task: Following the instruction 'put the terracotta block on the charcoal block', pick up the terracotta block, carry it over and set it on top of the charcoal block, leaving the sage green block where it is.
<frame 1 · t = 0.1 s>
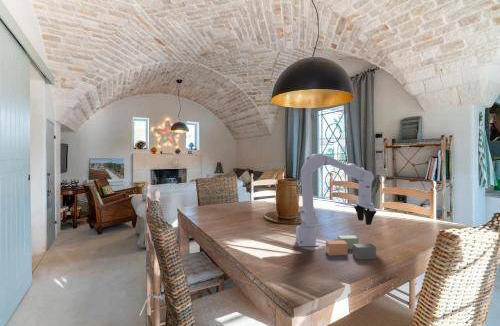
hand: (364, 222, 120), 10 cm above the table, fingers open, 7 cm apart
sage block: (348, 247, 115), on the table
charcoal block: (364, 257, 104), on the table
terracotta block: (336, 253, 108), on the table
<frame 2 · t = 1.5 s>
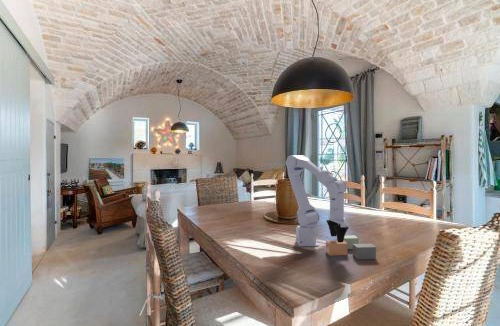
hand: (336, 239, 108), 6 cm above the table, fingers open, 7 cm apart
nothing on the table moved.
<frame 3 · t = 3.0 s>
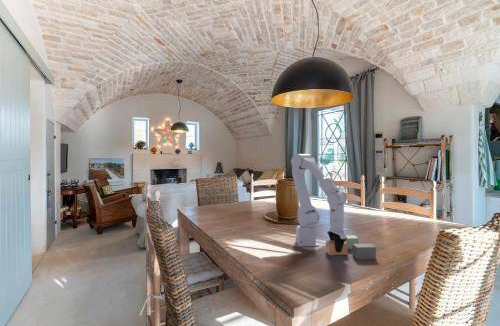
hand: (336, 249, 108), 1 cm above the table, fingers closed on terracotta block, 4 cm apart
terracotta block: (336, 253, 108), on the table, touching gripper
everything else where it was.
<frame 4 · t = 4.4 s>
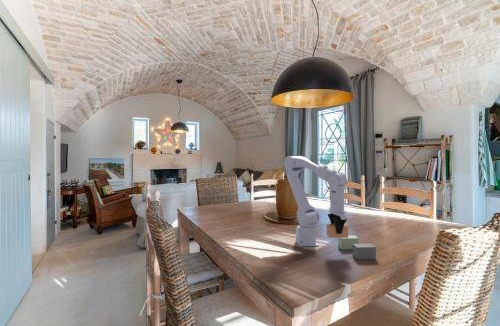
hand: (337, 231, 107), 9 cm above the table, fingers closed on terracotta block, 4 cm apart
terracotta block: (337, 236, 108), point 7 cm above the table, touching gripper
everything else where it was.
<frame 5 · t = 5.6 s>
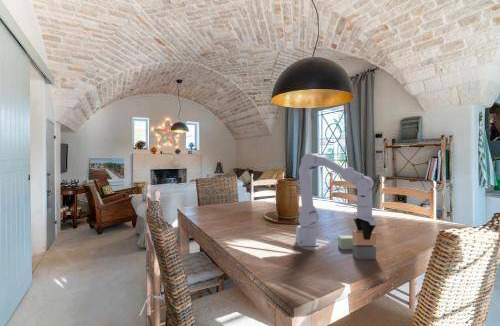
hand: (364, 237, 103), 8 cm above the table, fingers closed on terracotta block, 4 cm apart
terracotta block: (363, 243, 104), point 6 cm above the table, touching gripper
everything else where it was.
when the fingers open (8 cm above the table, at t = 6.2 s): terracotta block stays where it is, resting on charcoal block.
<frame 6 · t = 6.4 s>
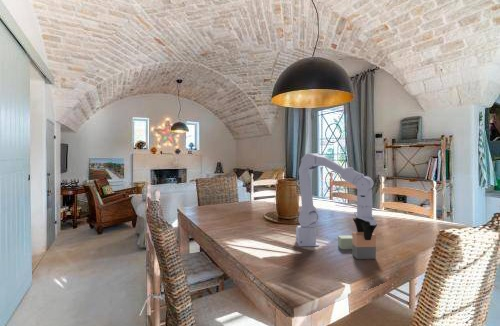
hand: (364, 237, 103), 8 cm above the table, fingers open, 5 cm apart
charcoal block: (363, 256, 104), on the table, touching terracotta block
terracotta block: (363, 245, 104), point 5 cm above the table, touching charcoal block
everything else where it was.
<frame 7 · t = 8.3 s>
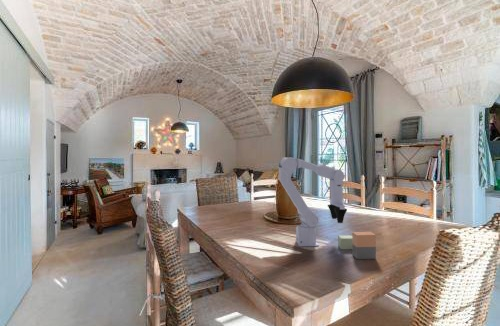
hand: (337, 220, 122), 10 cm above the table, fingers open, 7 cm apart
nothing on the table moved.
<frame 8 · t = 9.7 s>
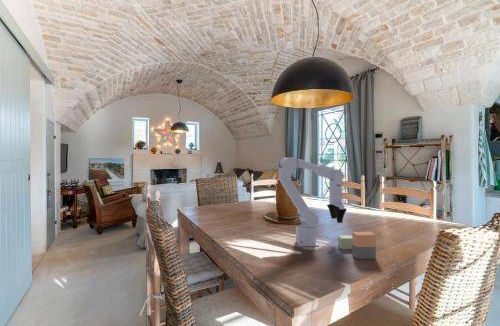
hand: (336, 220, 122), 10 cm above the table, fingers open, 7 cm apart
nothing on the table moved.
at the end: terracotta block 0.1 cm off-centre on the charcoal block, point 5.0 cm above the charcoal block's base; sage block moved 0.2 cm from its start; the gripper is holding nothing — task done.
